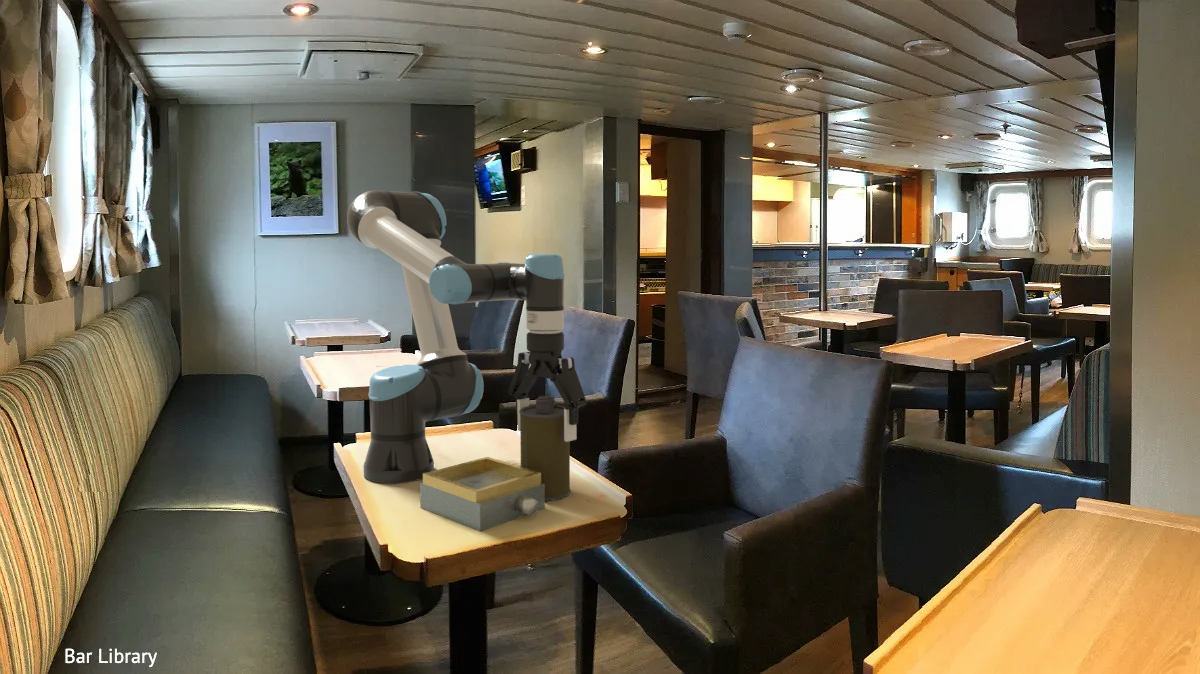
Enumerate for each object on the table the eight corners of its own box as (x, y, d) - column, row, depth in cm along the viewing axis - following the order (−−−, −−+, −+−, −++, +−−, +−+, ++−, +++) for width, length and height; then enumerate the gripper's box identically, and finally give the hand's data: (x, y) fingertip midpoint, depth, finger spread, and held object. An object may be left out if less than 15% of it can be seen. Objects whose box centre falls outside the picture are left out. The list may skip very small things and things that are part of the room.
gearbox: (420, 507, 154) (419, 472, 153) (484, 488, 166) (484, 455, 165) (491, 535, 140) (490, 497, 139) (555, 512, 152) (555, 476, 151)
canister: (563, 502, 157) (563, 403, 155) (513, 499, 159) (512, 401, 157) (576, 486, 168) (576, 393, 165) (528, 482, 170) (528, 390, 167)
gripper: (490, 328, 165) (492, 428, 167) (577, 337, 148) (578, 448, 151) (517, 325, 170) (518, 422, 173) (604, 334, 154) (604, 441, 156)
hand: (546, 435), depth 162 cm, fingers open, 13 cm apart
